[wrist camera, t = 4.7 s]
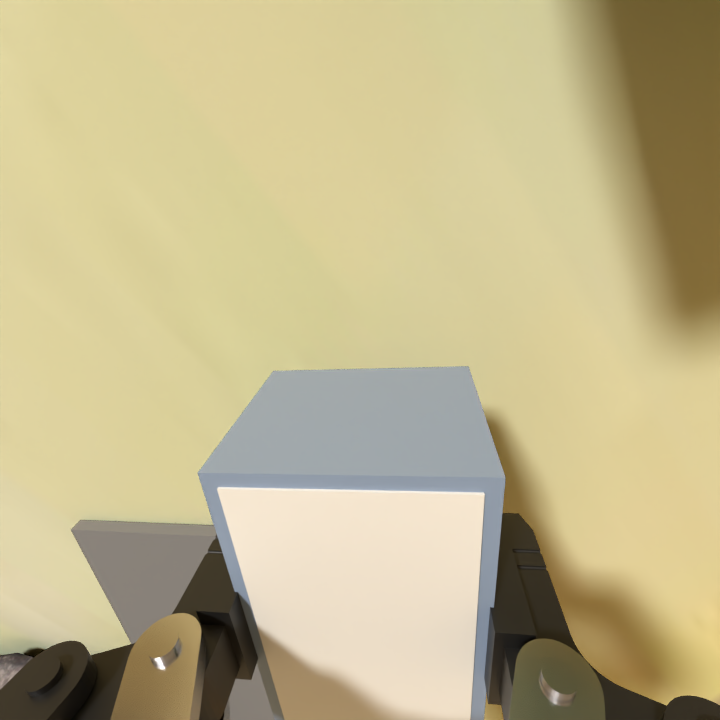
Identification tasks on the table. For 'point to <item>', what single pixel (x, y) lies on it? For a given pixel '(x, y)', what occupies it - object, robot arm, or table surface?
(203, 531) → the rubber mat
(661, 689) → the table surface
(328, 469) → the card box
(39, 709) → the robot arm
